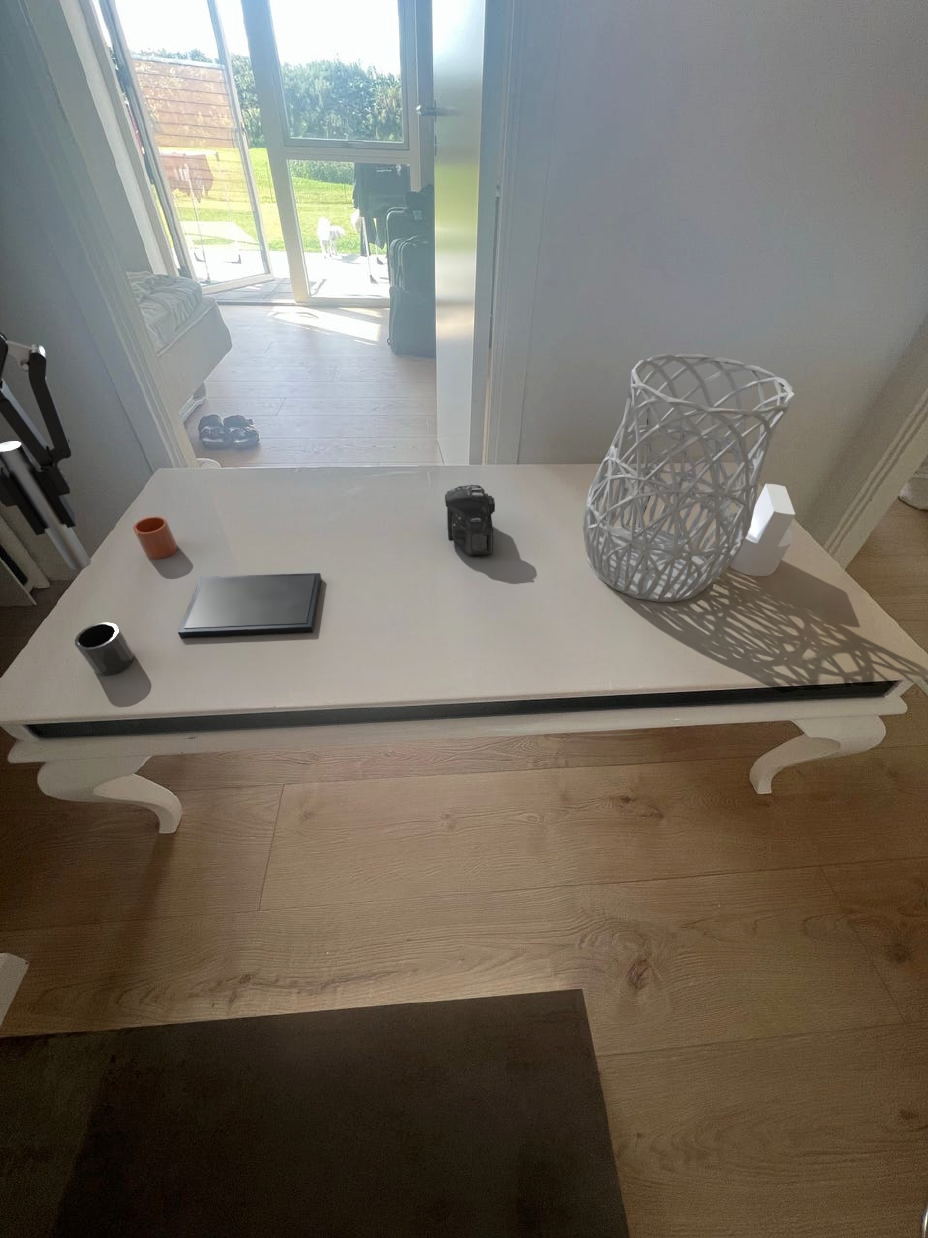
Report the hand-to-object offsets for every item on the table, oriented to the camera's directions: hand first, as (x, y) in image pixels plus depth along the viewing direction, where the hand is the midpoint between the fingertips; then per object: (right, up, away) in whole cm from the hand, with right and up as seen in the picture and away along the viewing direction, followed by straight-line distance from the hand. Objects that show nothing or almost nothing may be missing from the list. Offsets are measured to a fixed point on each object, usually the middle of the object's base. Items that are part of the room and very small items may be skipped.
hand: (55, 523), depth 56 cm
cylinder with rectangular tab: (+93, 0, +33) cm, 99 cm away
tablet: (+13, -8, +21) cm, 26 cm away
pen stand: (-2, -16, +13) cm, 21 cm away
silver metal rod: (0, -4, +4) cm, 6 cm away
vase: (+75, -1, +32) cm, 82 cm away
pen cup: (-6, +1, +30) cm, 31 cm away
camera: (+45, +4, +35) cm, 57 cm away
